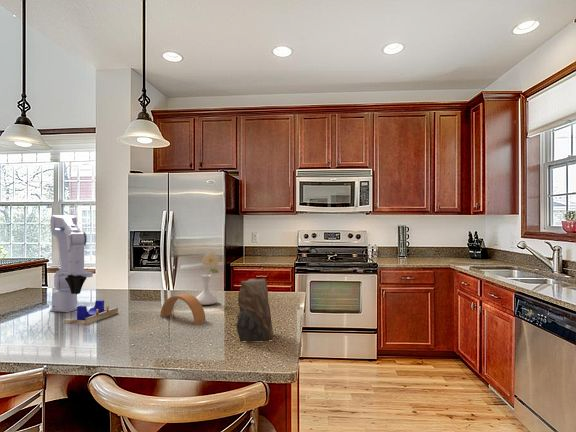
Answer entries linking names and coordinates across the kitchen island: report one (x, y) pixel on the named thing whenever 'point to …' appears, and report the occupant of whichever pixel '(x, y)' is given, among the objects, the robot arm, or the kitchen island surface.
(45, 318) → the kitchen island surface
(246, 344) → the kitchen island surface
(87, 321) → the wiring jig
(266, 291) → the dark grey rock
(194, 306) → the arch
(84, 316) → the blue pipe clamp half
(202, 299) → the flower in vase
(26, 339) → the kitchen island surface
